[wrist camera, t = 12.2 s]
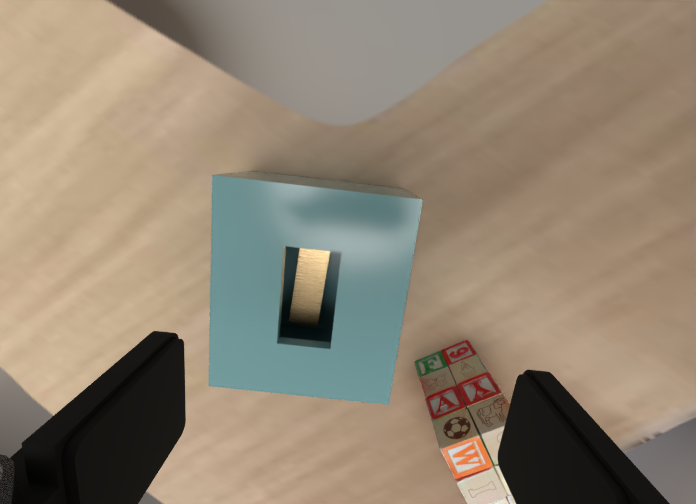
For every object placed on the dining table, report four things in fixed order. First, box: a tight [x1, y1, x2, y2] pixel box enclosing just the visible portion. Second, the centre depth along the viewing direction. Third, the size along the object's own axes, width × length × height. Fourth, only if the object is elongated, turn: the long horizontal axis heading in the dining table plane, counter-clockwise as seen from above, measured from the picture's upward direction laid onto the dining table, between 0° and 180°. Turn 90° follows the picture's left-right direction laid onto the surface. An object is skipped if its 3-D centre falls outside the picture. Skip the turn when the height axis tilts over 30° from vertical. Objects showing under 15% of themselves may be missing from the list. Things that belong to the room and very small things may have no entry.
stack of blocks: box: [415, 340, 516, 504], centre depth 34 cm, size 21×6×12 cm, turn 25°
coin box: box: [209, 171, 423, 405], centre depth 30 cm, size 14×16×10 cm
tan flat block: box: [289, 248, 331, 327], centre depth 32 cm, size 2×5×7 cm
